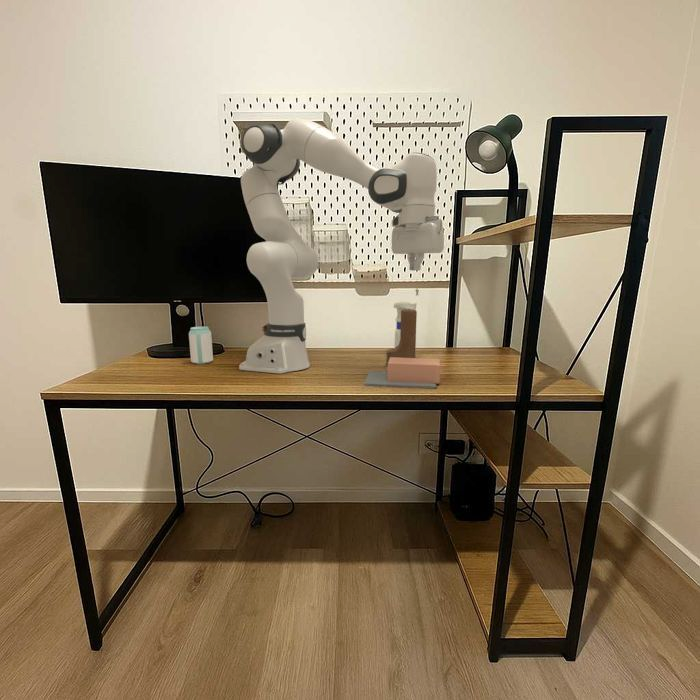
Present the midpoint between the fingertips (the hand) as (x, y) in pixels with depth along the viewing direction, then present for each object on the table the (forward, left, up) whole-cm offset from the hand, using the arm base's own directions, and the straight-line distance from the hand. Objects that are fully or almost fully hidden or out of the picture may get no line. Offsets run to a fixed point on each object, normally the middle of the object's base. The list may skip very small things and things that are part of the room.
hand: (414, 270), depth 109 cm
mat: (-3, -5, -31) cm, 31 cm away
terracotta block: (+8, -5, -27) cm, 29 cm away
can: (-71, +8, -31) cm, 78 cm away
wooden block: (-4, +15, -31) cm, 35 cm away
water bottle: (-3, +28, -31) cm, 42 cm away
